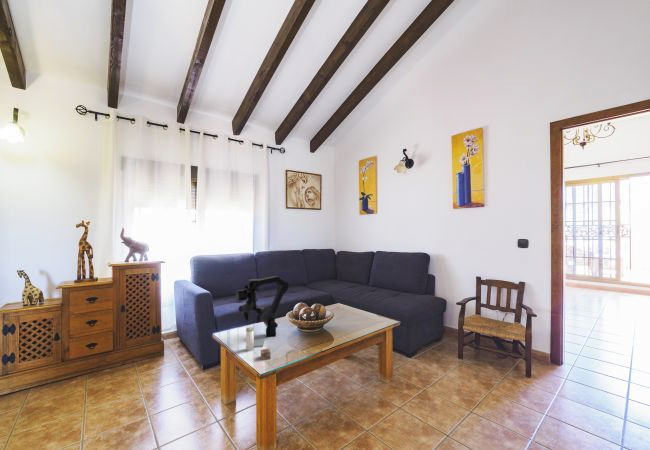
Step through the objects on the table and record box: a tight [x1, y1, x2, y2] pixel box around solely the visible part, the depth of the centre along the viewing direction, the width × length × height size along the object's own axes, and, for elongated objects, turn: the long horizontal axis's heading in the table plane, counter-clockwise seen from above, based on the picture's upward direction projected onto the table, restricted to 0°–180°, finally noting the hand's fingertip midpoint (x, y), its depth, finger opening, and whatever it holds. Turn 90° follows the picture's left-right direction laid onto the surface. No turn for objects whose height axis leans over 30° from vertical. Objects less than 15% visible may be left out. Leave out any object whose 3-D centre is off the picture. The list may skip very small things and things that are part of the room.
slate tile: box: [254, 338, 266, 348], centre depth 181 cm, size 10×10×1 cm
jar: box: [245, 327, 255, 352], centre depth 173 cm, size 5×5×13 cm
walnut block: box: [260, 348, 271, 361], centre depth 162 cm, size 5×5×4 cm
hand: (252, 321), depth 187 cm, fingers open, 9 cm apart
